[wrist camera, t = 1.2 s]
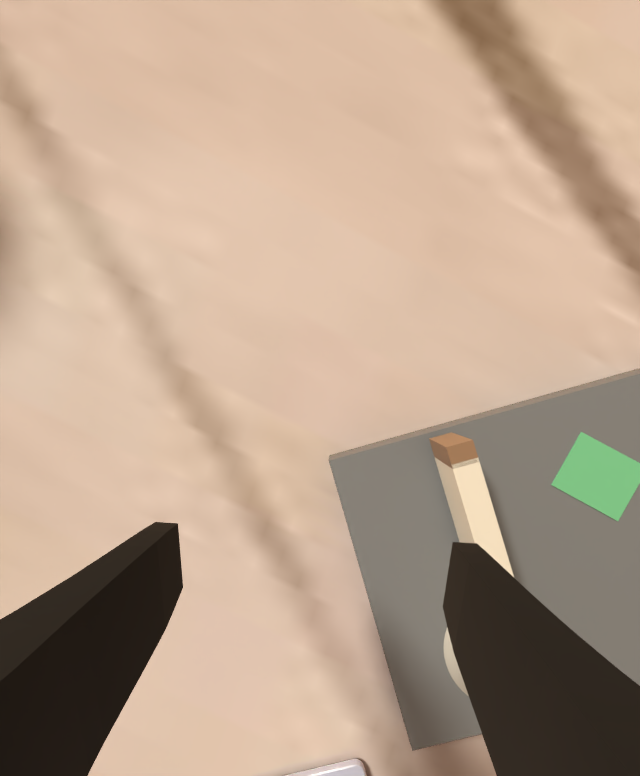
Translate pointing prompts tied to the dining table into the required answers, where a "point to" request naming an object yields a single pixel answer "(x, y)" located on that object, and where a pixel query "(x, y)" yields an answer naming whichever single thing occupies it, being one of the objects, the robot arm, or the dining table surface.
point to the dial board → (518, 529)
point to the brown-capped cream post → (468, 495)
